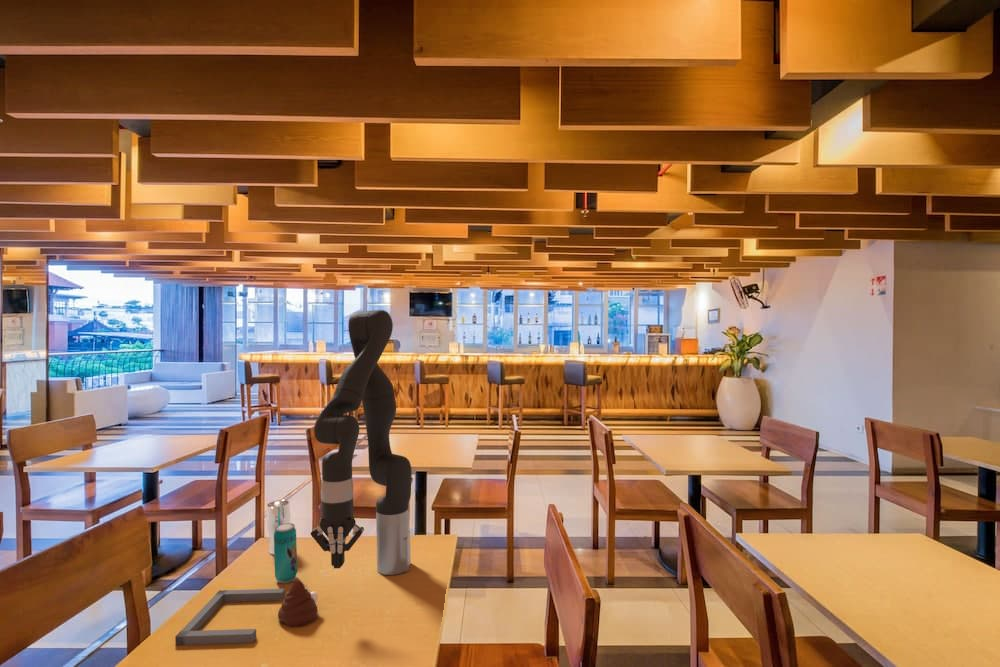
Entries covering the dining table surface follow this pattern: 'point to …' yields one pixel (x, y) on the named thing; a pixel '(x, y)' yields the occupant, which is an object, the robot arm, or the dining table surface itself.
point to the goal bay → (195, 637)
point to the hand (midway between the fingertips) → (337, 566)
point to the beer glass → (276, 518)
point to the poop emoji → (298, 606)
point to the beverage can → (285, 552)
